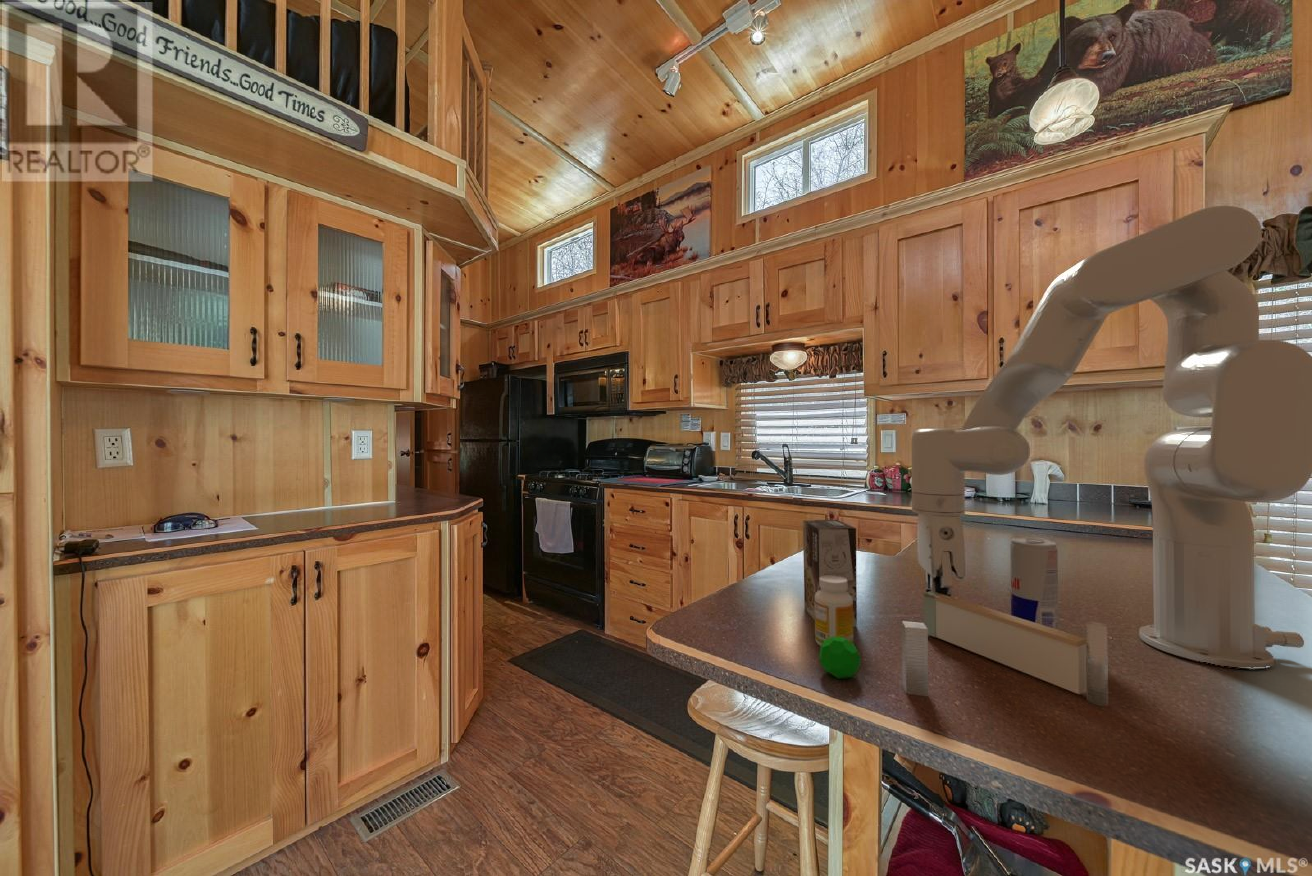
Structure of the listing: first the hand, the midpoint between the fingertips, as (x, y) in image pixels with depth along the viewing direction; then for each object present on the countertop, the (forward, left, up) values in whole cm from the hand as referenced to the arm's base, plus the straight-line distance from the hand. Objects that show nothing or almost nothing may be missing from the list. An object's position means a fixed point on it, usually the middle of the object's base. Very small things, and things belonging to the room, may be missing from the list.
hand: (938, 615), depth 79 cm
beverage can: (-12, +3, -2) cm, 13 cm away
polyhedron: (+17, +22, -2) cm, 28 cm away
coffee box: (+17, +1, -2) cm, 17 cm away
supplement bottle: (+17, +12, -2) cm, 21 cm away
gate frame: (-1, +22, -1) cm, 22 cm away
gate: (-4, +12, -1) cm, 13 cm away
